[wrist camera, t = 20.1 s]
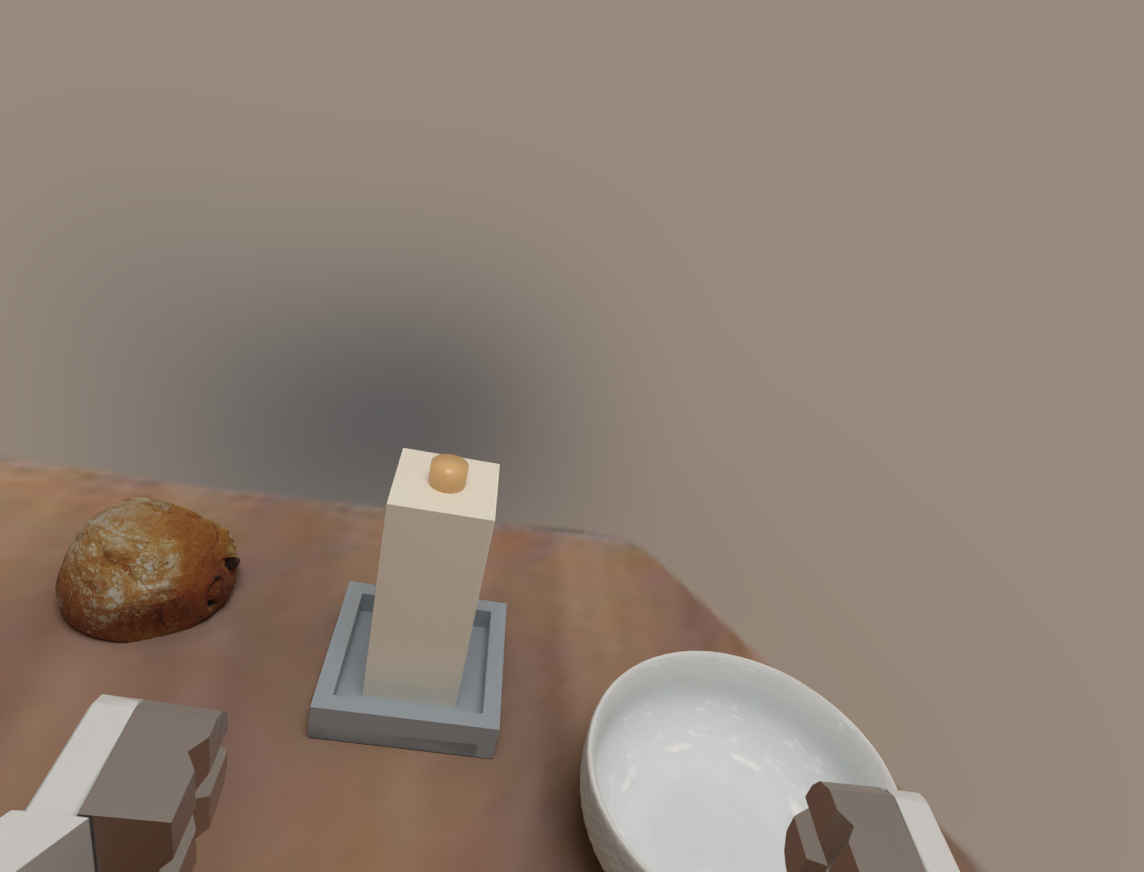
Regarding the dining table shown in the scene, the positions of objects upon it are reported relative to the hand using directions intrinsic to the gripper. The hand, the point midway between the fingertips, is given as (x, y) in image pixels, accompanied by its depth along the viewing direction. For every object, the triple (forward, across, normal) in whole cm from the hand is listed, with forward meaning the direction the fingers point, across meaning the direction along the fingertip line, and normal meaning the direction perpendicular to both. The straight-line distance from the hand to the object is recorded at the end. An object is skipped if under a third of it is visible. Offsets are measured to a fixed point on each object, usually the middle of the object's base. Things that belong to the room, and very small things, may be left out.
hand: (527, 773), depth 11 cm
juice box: (+29, +2, +29) cm, 41 cm away
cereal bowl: (+19, -16, +30) cm, 39 cm away
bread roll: (+34, +19, +30) cm, 49 cm away
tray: (+29, +2, +30) cm, 42 cm away
